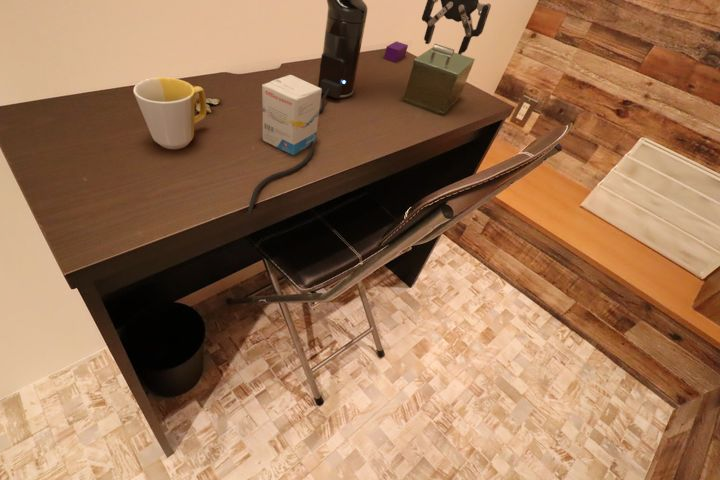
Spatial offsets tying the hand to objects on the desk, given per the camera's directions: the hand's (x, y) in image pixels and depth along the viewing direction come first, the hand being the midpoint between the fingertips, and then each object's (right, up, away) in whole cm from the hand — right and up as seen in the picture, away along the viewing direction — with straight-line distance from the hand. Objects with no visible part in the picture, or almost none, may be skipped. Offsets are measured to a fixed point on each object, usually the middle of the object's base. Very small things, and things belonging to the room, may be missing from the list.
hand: (443, 48), depth 89 cm
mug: (-58, -28, -15) cm, 66 cm away
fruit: (-58, -17, -5) cm, 61 cm away
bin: (+1, -6, +14) cm, 15 cm away
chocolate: (-5, +18, +34) cm, 39 cm away
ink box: (-37, -27, -10) cm, 47 cm away
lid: (+2, 0, +6) cm, 7 cm away
